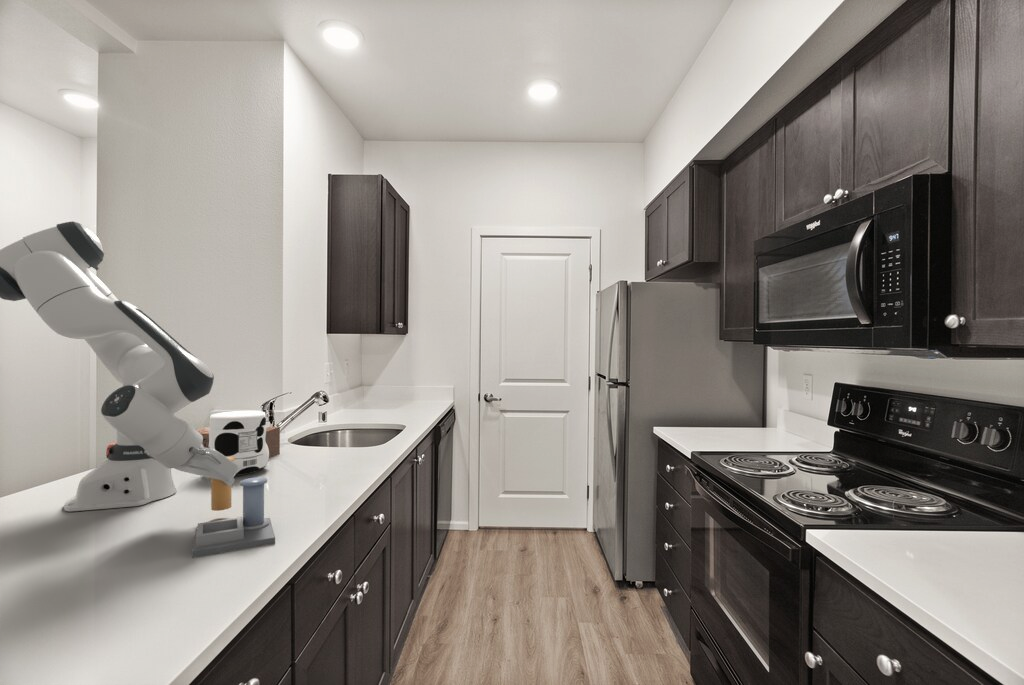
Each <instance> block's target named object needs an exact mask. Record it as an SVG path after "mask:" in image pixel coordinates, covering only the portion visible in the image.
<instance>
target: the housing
mask: <svg viewBox="0 0 1024 685" xmlns="http://www.w3.org/2000/svg"><path fill="white" fill-rule="evenodd" d="M266 483H267V484H268V478H267V477H261V476H260V477H251V478H244V479H241V480H240V481H239V486H241V487H242V516H241V517H240V516H239V517H233V518H226V519H219V520H212V521H206V522H200V523H197V527H196V528H195V531H194V536H193V537H194V538H193V545H192V551H191V552H192V554H191V558H192V559H193V558H200V557H205V556H210V555H217V554H222V553H226V552H228V553H229V552H233V551H238V550H245V549H250V548H257V547H262V546H267V545H275V544H276V535H275V533H274V532H275V531H274V528H273V524H272V521H271V517H265V484H266Z"/></svg>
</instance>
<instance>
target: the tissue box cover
mask: <svg viewBox="0 0 1024 685" xmlns="http://www.w3.org/2000/svg"><path fill="white" fill-rule="evenodd" d="M195 430H196V431H197V432H199V433H200V434H201V435H202V436H203V442H202V444H203V447H204V448H208V446H209V425H208V426H205V427H201V428H198V429H195ZM280 437H281V427H280V426H266V442H267V446H268V449H269V459H271V458H274V457H275V456H278V455H280V452H281V447H280V446H281V445H280V444H281V443H280V440H281V438H280Z"/></svg>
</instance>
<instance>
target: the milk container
mask: <svg viewBox="0 0 1024 685" xmlns="http://www.w3.org/2000/svg"><path fill="white" fill-rule="evenodd" d="M209 416H210V417H209V422H208V426H209V446H208V448H210V449H214V450H216V451H218V452H219V453H221V454H223V455H224V456H225V457H233V458H234V461H233V462H234V463H235V464H236V465H237V466H238V467H239V470H238V472H237V473H236V475H235V476H242V475H248V474H252V473H256V472H258V471H261V470H264V469H265V468H266V467H267V465H268V463H269V460H270V458H269V449H268V446H267V442H266V427H267V423H266V422H267V418H266V417H267V416H266V412H265V411H260V410H239V411H238V410H237V411H225V412H218V413H213V414H211V415H209Z"/></svg>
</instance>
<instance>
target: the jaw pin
mask: <svg viewBox="0 0 1024 685" xmlns="http://www.w3.org/2000/svg"><path fill="white" fill-rule="evenodd" d="M227 458H228V459H230V460H231V461H232V462H233V461H234V458H233V457H227ZM210 484H211V485H210V488H211V490H210V494H211V496H210V498H211V499H210V504H211V505H210V506H211V507H210V510H211V511H213V512H214V511H216V512H217V511H224V510H228V509H231V508H232V485H231V486H228V485H225V484H224V483H222V482H221V480H218V479H213V478H211V481H210Z"/></svg>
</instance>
